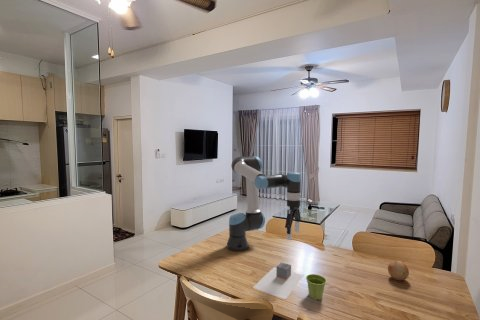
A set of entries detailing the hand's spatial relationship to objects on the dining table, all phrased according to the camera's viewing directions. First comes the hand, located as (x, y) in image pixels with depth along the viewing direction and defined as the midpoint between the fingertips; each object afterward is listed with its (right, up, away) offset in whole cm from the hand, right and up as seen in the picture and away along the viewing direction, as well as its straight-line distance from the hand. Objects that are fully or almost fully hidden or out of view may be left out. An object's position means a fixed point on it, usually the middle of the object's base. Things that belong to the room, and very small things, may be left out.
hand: (293, 235), depth 146 cm
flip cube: (-7, -21, -7) cm, 23 cm away
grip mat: (-10, -21, -12) cm, 26 cm away
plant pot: (+6, -22, -24) cm, 33 cm away
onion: (+55, -21, -9) cm, 60 cm away
